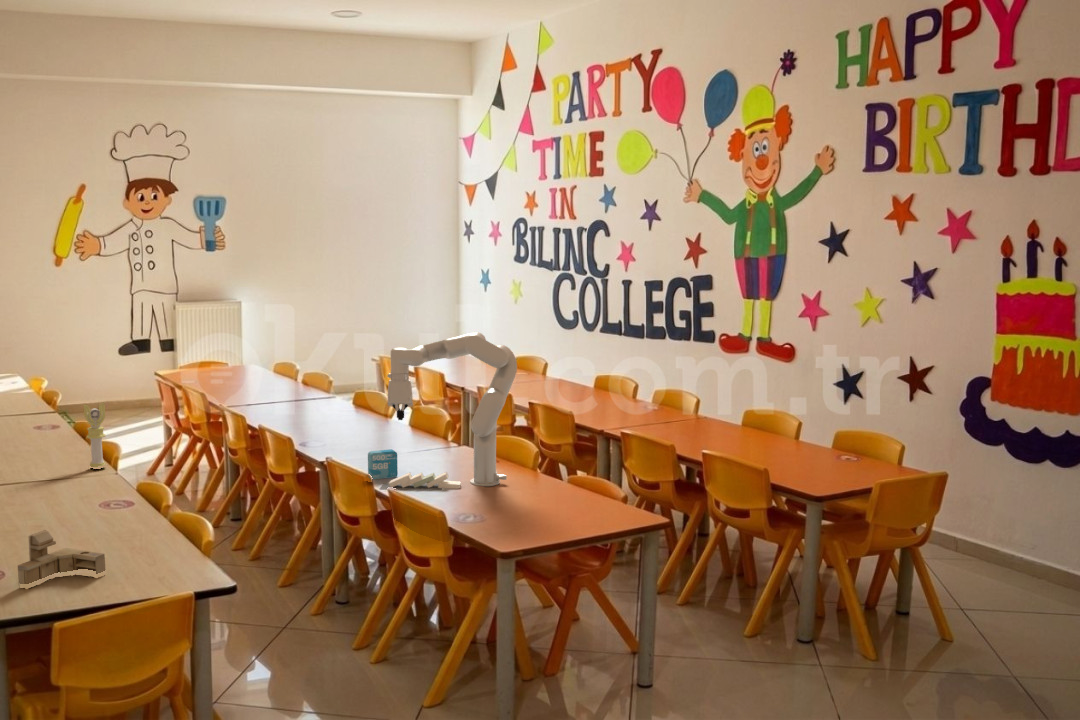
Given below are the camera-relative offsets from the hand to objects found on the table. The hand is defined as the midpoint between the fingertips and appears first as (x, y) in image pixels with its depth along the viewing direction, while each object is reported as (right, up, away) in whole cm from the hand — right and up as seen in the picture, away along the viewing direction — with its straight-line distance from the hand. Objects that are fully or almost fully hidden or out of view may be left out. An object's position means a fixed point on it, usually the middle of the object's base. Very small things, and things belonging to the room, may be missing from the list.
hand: (400, 419), depth 430 cm
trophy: (-139, -24, +24) cm, 144 cm away
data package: (-9, -26, +10) cm, 29 cm away
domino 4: (+12, -27, -7) cm, 30 cm away
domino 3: (+7, -27, -7) cm, 28 cm away
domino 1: (-3, -27, -6) cm, 28 cm away
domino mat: (+6, -28, -6) cm, 30 cm away
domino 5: (+17, -27, -7) cm, 32 cm away
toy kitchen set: (-88, -43, -119) cm, 154 cm away
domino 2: (+2, -27, -7) cm, 28 cm away
